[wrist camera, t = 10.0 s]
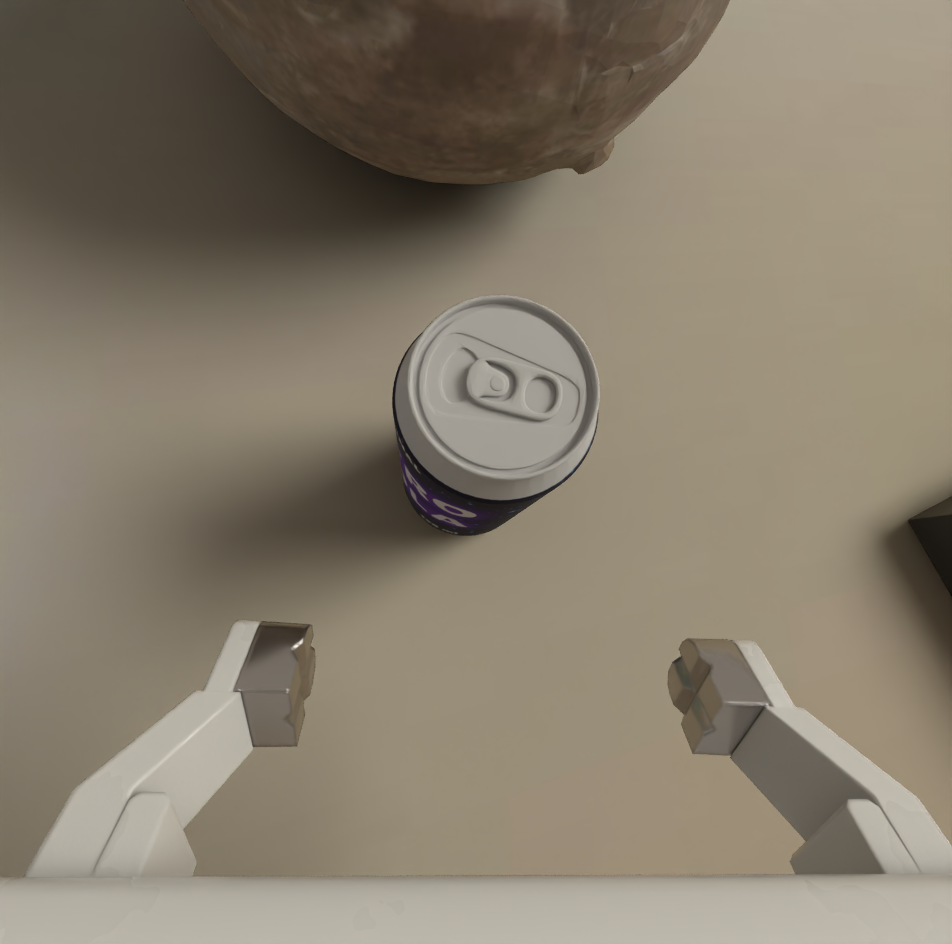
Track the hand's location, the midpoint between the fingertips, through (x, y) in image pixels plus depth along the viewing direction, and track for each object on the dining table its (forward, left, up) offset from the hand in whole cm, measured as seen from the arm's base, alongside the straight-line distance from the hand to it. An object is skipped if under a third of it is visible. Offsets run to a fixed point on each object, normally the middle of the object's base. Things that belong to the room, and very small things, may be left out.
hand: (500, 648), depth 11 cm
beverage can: (+3, +6, -12) cm, 14 cm away
